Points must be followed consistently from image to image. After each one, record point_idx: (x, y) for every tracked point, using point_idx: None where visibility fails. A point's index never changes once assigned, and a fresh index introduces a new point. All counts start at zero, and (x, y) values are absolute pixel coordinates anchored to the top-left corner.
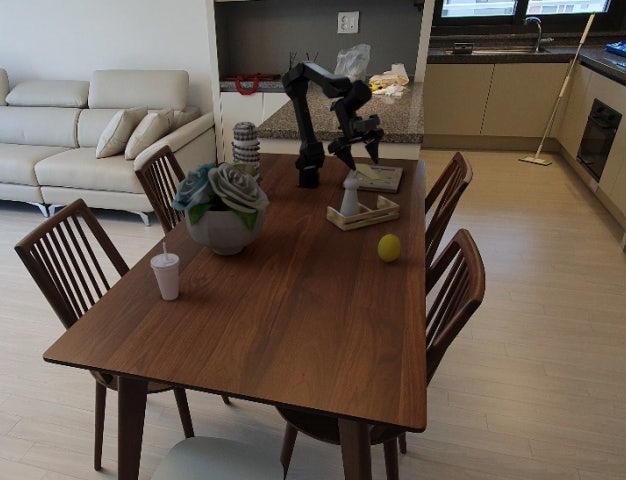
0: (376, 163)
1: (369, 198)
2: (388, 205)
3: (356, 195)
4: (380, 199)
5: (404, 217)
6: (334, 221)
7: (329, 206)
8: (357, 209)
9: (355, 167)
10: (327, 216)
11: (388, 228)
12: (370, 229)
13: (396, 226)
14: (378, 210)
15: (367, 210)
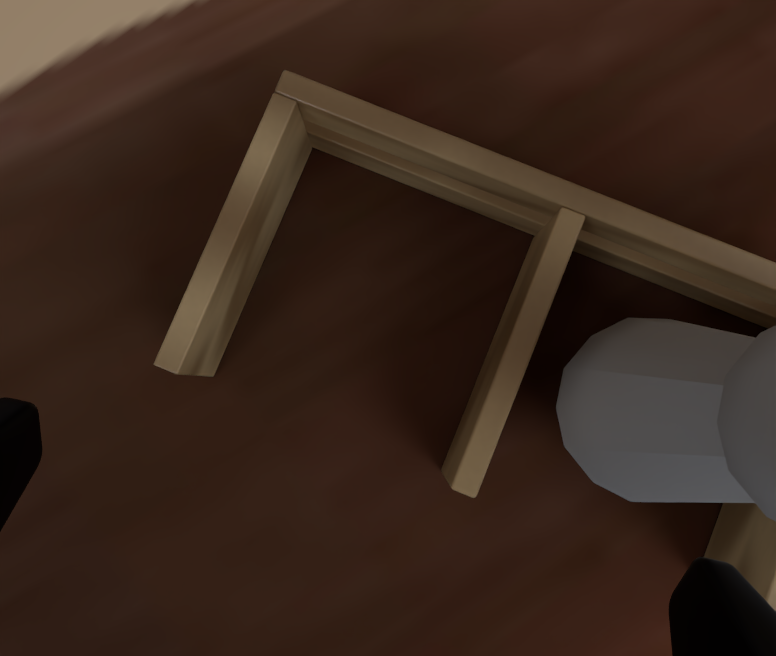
0: (33, 435)
1: (57, 550)
2: (260, 216)
3: (745, 338)
4: (204, 334)
5: (255, 91)
6: None
7: None
8: (667, 322)
9: (734, 592)
10: None
11: (528, 83)
12: (639, 180)
13: (454, 55)
14: (520, 168)
15: (566, 264)
